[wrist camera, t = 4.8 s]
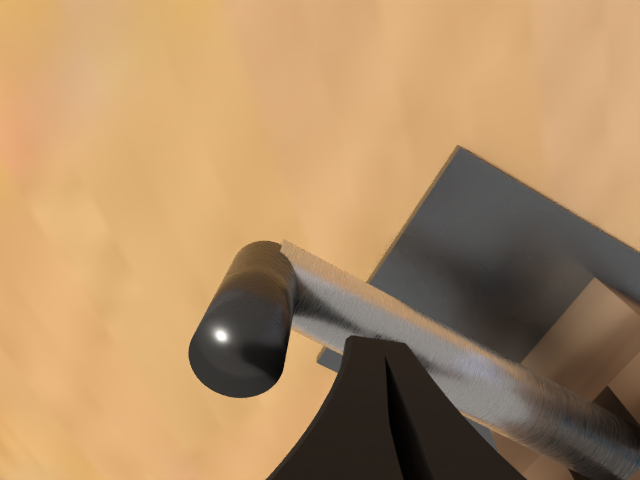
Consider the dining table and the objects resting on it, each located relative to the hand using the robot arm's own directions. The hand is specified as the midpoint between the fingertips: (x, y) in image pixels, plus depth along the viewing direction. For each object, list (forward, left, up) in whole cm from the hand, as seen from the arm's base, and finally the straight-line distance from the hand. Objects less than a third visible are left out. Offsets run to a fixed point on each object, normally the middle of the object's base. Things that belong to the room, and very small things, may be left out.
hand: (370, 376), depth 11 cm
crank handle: (-2, +2, -3) cm, 4 cm away
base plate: (-6, +6, -8) cm, 12 cm away
